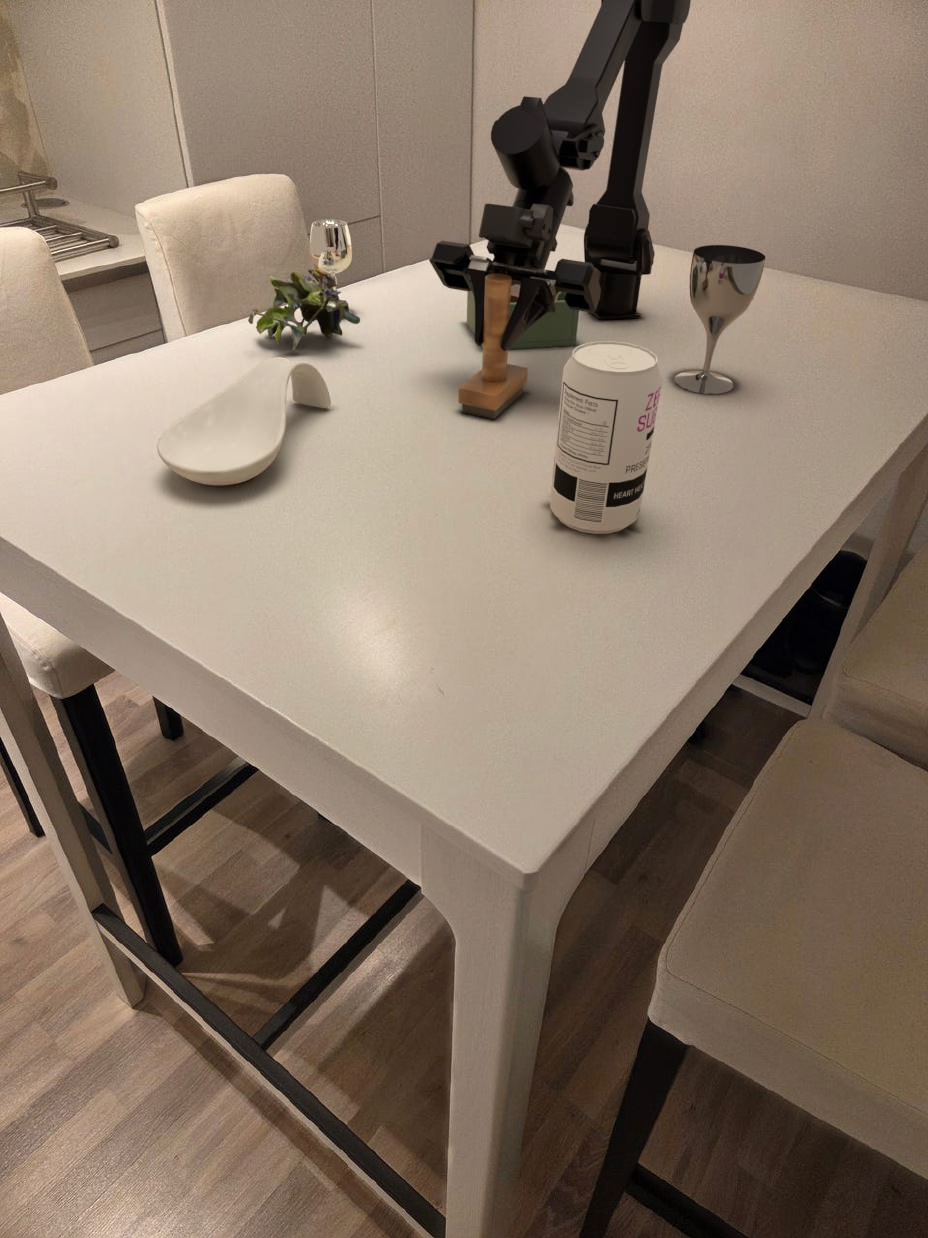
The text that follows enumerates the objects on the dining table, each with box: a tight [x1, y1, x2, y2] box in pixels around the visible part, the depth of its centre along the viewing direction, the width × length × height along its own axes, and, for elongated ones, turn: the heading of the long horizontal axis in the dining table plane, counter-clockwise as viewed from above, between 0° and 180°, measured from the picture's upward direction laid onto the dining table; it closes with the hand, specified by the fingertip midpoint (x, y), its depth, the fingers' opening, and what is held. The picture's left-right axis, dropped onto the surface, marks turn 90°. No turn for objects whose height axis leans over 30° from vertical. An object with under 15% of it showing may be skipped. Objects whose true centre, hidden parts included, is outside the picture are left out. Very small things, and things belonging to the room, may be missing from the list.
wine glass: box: [674, 244, 766, 395], centre depth 101 cm, size 8×8×15 cm
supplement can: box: [549, 340, 663, 535], centre depth 75 cm, size 8×8×15 cm
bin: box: [466, 284, 580, 350], centre depth 116 cm, size 13×11×6 cm
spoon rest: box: [156, 356, 332, 486], centre depth 87 cm, size 24×12×7 cm, turn 160°
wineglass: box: [309, 219, 353, 313], centre depth 119 cm, size 6×6×12 cm
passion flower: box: [247, 268, 361, 356], centre depth 111 cm, size 11×11×12 cm
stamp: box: [457, 274, 529, 420], centre depth 95 cm, size 5×9×14 cm, turn 154°
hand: (490, 346), depth 94 cm, fingers closed on stamp, 3 cm apart
